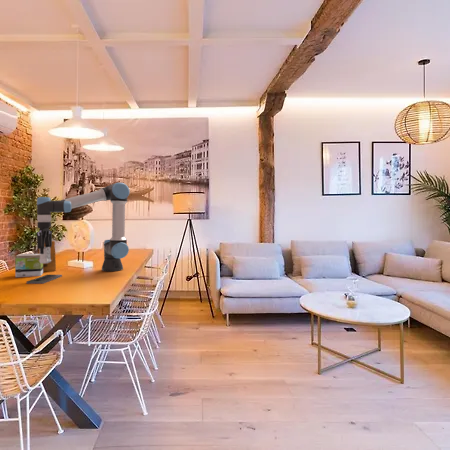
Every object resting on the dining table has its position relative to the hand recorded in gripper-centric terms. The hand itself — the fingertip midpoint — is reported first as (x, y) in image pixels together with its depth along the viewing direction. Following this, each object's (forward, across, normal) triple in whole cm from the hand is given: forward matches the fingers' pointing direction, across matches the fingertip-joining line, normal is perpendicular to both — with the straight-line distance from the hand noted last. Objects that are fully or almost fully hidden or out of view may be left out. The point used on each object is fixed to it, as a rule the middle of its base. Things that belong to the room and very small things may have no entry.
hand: (45, 258), depth 202 cm
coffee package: (+14, -32, -18) cm, 40 cm away
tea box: (+14, -14, -19) cm, 28 cm away
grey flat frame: (+14, 0, 0) cm, 14 cm away
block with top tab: (+3, 0, 0) cm, 3 cm away
